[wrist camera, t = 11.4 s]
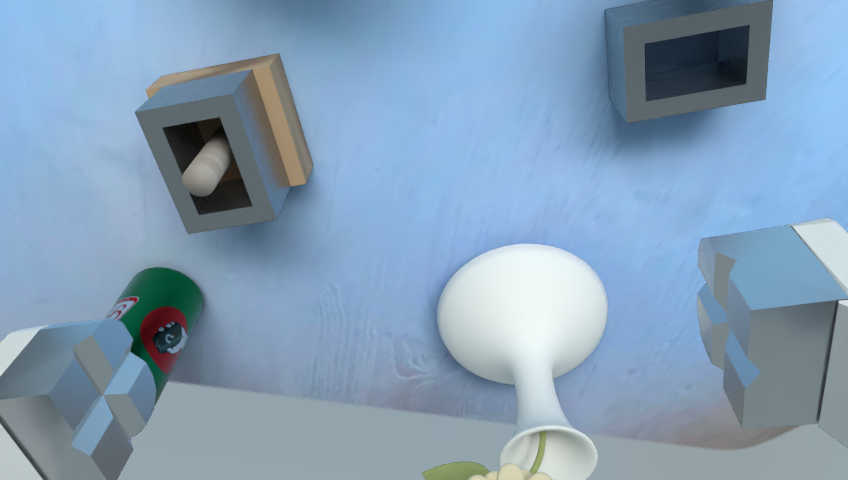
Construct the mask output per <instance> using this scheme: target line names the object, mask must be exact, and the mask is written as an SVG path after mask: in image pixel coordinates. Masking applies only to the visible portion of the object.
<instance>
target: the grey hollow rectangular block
mask: <svg viewBox="0 0 848 480" xmlns="http://www.w3.org/2000/svg"><path fill="white" fill-rule="evenodd" d="M135 114H136V116H137V119H138V121H139V123H140V125H141V128H142V130H143V132H144V135H145V137H146V139H147V142H148V144H149V146H150V148H151V151H152V153H153V155H154V158H155V160H156V162H157V164H158V167H159V169H160V171H161V174H162V176H163V178H164V180H165V183H166V185H167V187H168V190H169V192H170V194H171V196H172V199H173V201H174V203H175V206H176V208H177V210H178V212H179V215H180V217H181V219H182V222H183V224H184V226H185V228H186V231H187V233H188V234H192V233H198V232H204V231H210V230H216V229H222V228H228V227H235V226H241V225H247V224H253V223H259V222H265V221H271V220H277V218H278V215H279V213H280V211H281V208H282V206H283V204H284V201H285V199H286V196H287V194H288V192H289V189H290V187H291V185H290V182H289V179H288V176H287V172H286V169H285V166H284V163H283V160H282V157H281V154H280V151H279V148H278V145H277V142H276V139H275V136H274V133H273V130H272V127H271V124H270V121H269V118H268V115H267V112H266V109H265V106H264V103H263V100H262V97H261V94H260V91H259V87H258V84H257V81H256V78H255V75H254V72H253V69H250V70H245V71H240V72H234V73H229V74H224V75H219V76H214V77H208V78H203V79H198V80H193V81H188V82H182V83H177V84H172V85H167V86H163V87H162V88H161V89H160V90H159V91H158V92H157V93H155V94H154V95H153V96H152V97H151V98H150V99H149V100H148V101H147V102H145V103H144V104H143V105H142V106H141V107H140V108H139V109H138V110H136V111H135ZM217 117H220V119H221V122H222V124H223V127H224V130H225V132H226V135H227V138H228V141H229V143H230V146H231V149H232V151H233V154H234V157H235V160H236V162H237V165H238V168H239V170H240V173H241V176H242V178H240V179H234V180H229V181H223V182H220V181H219V183H218V184H217V186H216V187H215V189H214V190H213V192H212V193H211V194H209V195H207V196H196V195H193V194H191V193H190V192H188V191H187V190H186V188H185V187H184V185H183V183H182V176H183V173H184V172H185V170H186V169H187V168H188V167H189V165H190V164H191V163H192V161H193V160H194V159H195V157H196V156H197V155H198V154H199V152H200V151H201V150H202V148H203V147H204V146H205V142H204V140H203V137H202V135H201V132H200V129H199V127H198V124H197V122H196V121H201V120H206V119H212V118H217Z"/></svg>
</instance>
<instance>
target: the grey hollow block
mask: <svg viewBox="0 0 848 480" xmlns="http://www.w3.org/2000/svg"><path fill="white" fill-rule="evenodd" d="M772 7H773V0H652V1H647V2H642V3H636V4H631V5H626V6H621V7H615V8H610V9H605V19H606V39H607V59H608V80H609V98H610V100H611V101H612V102H613V104H614V105H615V107H616V108H617V110H618V111H619V113H620V114H621V116H622V117H623V119H624V120H625V122H626V123H631V122H637V121H643V120H648V119H654V118H660V117H666V116H672V115H678V114H684V113H689V112H695V111H701V110H707V109H713V108H719V107H724V106H730V105H736V104H742V103H748V102H754V101H759V100H765V99H766V86H767V73H768V59H769V46H770V33H771V20H772ZM717 30H719V32H718V60H717V62H713V63H708V64H702V65H696V66H691V67H685V68H680V69H674V70H668V71H663V72H657V73H652V74H646V75H645V44H647V43H652V42H658V41H663V40H668V39H674V38H679V37H685V36H690V35H696V34H701V33H707V32H712V31H717Z"/></svg>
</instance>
